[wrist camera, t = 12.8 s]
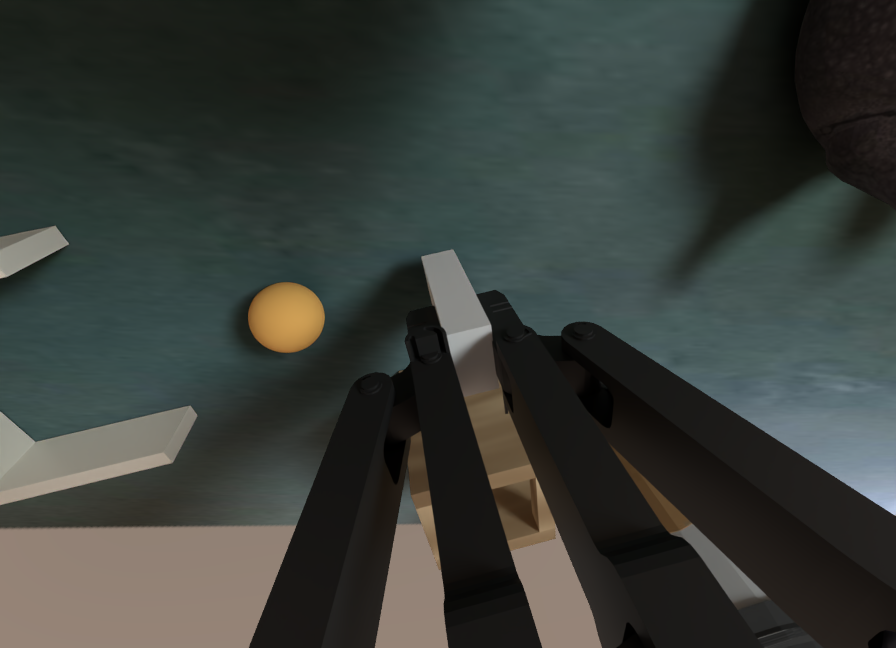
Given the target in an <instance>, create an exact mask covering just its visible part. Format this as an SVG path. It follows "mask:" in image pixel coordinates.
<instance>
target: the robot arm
mask: <svg viewBox="0 0 896 648" xmlns="http://www.w3.org/2000/svg"><path fill="white" fill-rule="evenodd" d="M421 258H422V262H423V267H424V271H425V276H426V280H427V284H428V289H429V293H430V298H431V302H432V306H429V307H425V308H421V309H417V310H413V311H410V312H409V314H408V316H407V318H406V322H407V329H408V335H407V336H406V338H405V344H406V348H407V351H408V355H409V358H410V364H409V365H408V366H407V368H406V369H404V370H403V371H402V372H400V373H399V374H397V375H395V376H393V377H391V378H390V377H389V375H387V374H385V373H378V372H375V373H370V374H367V375H365V376H363V377H361V378H359V379H358V380H357V381H356V382H354V384H353V385H352V387H351V388H350V391H349V394H348V396H347V399H346V401H345V404H344V406H343V409H342V411H341V414H340V416H339V419H338V422H337V424H336V427H335V429H334V432H333V434H332V437H331V439H330V442H329V445H328V447H327V450H326V452H325V455H324V457H323V460H322V462H321V465H320V467H319V470H318V473H317V475H316V478H315V480H314V483H313V485H312V488H311V490H310V493H309V496H308V498H307V501H306V503H305V506H304V508H303V511H302V513H301V516H300V518H299V521H298V524H297V526H296V529H295V531H294V534H293V536H292V539H291V542H290V544H289V546H288V549H287V552H286V554H285V557H284V560H283V562H282V564H281V567H280V570H279V572H278V575H277V577H276V580H275V582H274V585H273V587H272V590H271V592H270V595H269V598H268V600H267V603H266V605H265V608H264V610H263V613H262V616H261V618H260V620H259V623H258V625H257V628H256V631H255V633H254V636H253V638H252V641H251V643H250V647H249V648H375V643H376V636H377V631H378V626H379V620H380V614H381V609H382V602H383V597H384V591H385V586H386V581H387V575H388V569H389V564H390V558H391V552H392V547H393V541H394V535H395V529H396V524H397V518H398V513H399V507H400V502H401V496H402V490H403V485H404V479H405V473H406V468H407V462H408V456H409V451H410V445H411V436H413V435H415V434H417V433H419V432H420V431H421V436H422V443H423V449H424V456H425V463H426V470H427V477H428V483H429V490H430V497H431V504H432V511H433V517H434V524H435V531H436V538H437V545H438V551H439V558H440V565H441V572H442V579H443V585H444V594H445V599H444V616H445V625H446V633H447V640H448V647H449V648H542V646H541V642H540V639H539V636H538V633H537V629H536V626H535V623H534V620H533V616H532V613H531V610H530V607H529V603H528V600H527V597H526V594H525V591H524V588H523V585H522V583H521V581H520V579H519V577H518V574H517V572H516V568H515V565H514V562H513V559H512V555H511V552H510V548H509V545H508V542H507V538H506V535H505V532H504V528H503V525H502V522H501V518H500V515H499V512H498V509H497V505H496V502H495V499H494V495H493V492H492V489H491V485H490V482H489V479H488V475H487V472H486V469H485V465H484V462H483V459H482V456H481V452H480V449H479V446H478V442H477V439H476V436H475V432H474V429H473V426H472V422H471V419H470V416H469V412H468V409H467V406H466V402H465V399H464V397H466V396H470V395H474V394H478V393H482V392H486V391H490V390H494V389H498V388H499V382H500V384H501V386H502V392H503V400H504V408H505V414H508V411H509V413H510V416H511V418H512V421H513V423H514V425H515V428H516V430H517V433H518V435H519V437H520V440H521V442H522V445H523V447H524V449H525V452H526V454H527V457H528V459H529V461H530V464H531V466H532V469H533V471H534V473H535V476H536V478H537V481H538V483H539V485H540V488H541V490H542V493H543V495H544V497H545V500H546V502H547V504H548V507H549V509H550V512H551V514H552V516H553V519H554V521H555V524H556V526H557V528H558V531H559V533H560V536H561V538H562V540H563V542H564V545H565V548H566V550H567V552H568V555H569V557H570V560H571V562H572V564H573V567H574V569H575V572H576V574H577V576H578V579H579V581H580V583H581V586H582V588H583V591H584V593H585V596H586V598H587V600H588V603H589V605H590V608H591V610H592V613H593V616H594V619H595V624H596V628H597V632H598V636H599V639H600V642H601V645H602V648H764V647H763V646H762V644H761V643H760V641H759V640H758V638H757V637H756V636H755V634H754V633H753V631H752V630H751V628H750V627H749V625H748V624H747V623H746V621H745V620H744V618H743V617H742V615H741V614H740V613H739V611H738V610H737V608H736V607H735V605H734V604H733V602H732V601H731V600H730V598H729V597H728V595H727V594H726V592H725V591H724V590H723V588H722V587H721V585H720V584H719V582H718V581H717V579H716V578H715V577H714V575H713V574H712V572H711V571H710V569H709V568H708V567H707V565H706V564H705V562H704V561H703V559H702V558H701V557H700V555H699V554H698V553H697V552H696V550H695V549H694V548H693V547H692V545H691V544H690V543H688V542H687V541H686V540H685V539H683V538H682V537H678V536H674V535H672V534H670V533H669V532H668V531H667V530H666V529H665V527H664V526H663V525H662V523H661V522H660V520H659V519H658V517H657V516H656V514H655V513H654V511H653V510H652V508H651V507H650V505H649V504H648V502H647V501H646V499H645V498H644V496H643V494H642V493H641V491H640V490H639V488H638V487H637V485H636V484H635V482H634V481H633V479H632V478H631V476H630V475H629V473H628V472H627V470H626V469H625V467H624V466H623V464H622V463H621V461H620V460H619V458H618V457H617V455H616V454H615V452H614V451H613V449H612V447H613V448H614V449H615V450H616V451H617V452H619V453H620V454H621V455H622V456H623V457H624V458H625V459H626V460H627V461H628V462H629V463H630V464H631V465H632V466H633V467H634V468H635V469H636V470H637V471H638V472H639V473H640V474H641V475H642V476H643V477H644V478H645V479H647V480H648V481H649V482H650V483H651V484H652V485H653V486H654V487H655V488H656V489H657V490H658V491H659V492H660V493H661V494H662V495H663V496H664V497H665V498H666V499H667V500H668V501H669V502H670V503H671V504H672V505H673V506H675V507H676V508H677V509H678V510H679V511H680V512H681V513H682V514H683V515H684V516H685V517H686V518H687V519H688V520H689V521H690V522H691V523H692V524H693V525H694V526H695V527H696V528H697V529H698V530H699V531H700V532H701V533H703V534H704V535H705V536H706V537H707V538H708V539H709V540H710V541H711V542H712V543H713V544H714V545H715V546H716V547H717V548H718V549H719V550H720V551H721V552H722V553H723V554H724V555H725V556H726V557H727V558H728V559H729V560H731V561H732V562H733V563H734V564H735V565H736V566H737V567H738V568H739V569H740V570H741V571H742V572H743V573H744V574H745V575H746V576H747V577H748V578H749V579H750V580H751V581H752V582H753V583H754V584H755V585H756V586H757V587H759V588H760V589H761V590H762V591H763V592H764V593H765V594H766V595H767V596H768V597H769V598H770V599H771V600H772V601H773V602H774V603H775V604H776V605H777V606H778V607H779V608H780V609H781V610H782V611H783V612H784V613H785V614H787V615H788V616H789V617H790V618H791V619H792V620H793V621H794V622H795V623H796V624H797V625H799V626H800V627H801V628H802V629H803V630H804V631H805V632H806V633H807V634H809V635H810V636H811V637H812V638H813V639H814V640H815V641H816V642H817V643H818V644H820V645H821V646H822V647H823V648H896V516H894V515H893V514H891V513H890V512H888V511H887V510H885V509H884V508H882V507H880V506H879V505H877V504H876V503H874V502H873V501H871V500H870V499H868V498H866V497H865V496H863V495H862V494H860V493H859V492H857V491H856V490H854V489H852V488H851V487H849V486H848V485H846V484H845V483H843V482H842V481H840V480H839V479H837V478H835V477H834V476H832V475H831V474H829V473H828V472H826V471H825V470H823V469H821V468H820V467H818V466H817V465H815V464H814V463H812V462H811V461H809V460H807V459H806V458H804V457H803V456H801V455H800V454H798V453H797V452H795V451H793V450H792V449H790V448H789V447H787V446H786V445H784V444H783V443H781V442H779V441H778V440H776V439H775V438H773V437H772V436H770V435H769V434H767V433H765V432H764V431H762V430H761V429H759V428H758V427H756V426H755V425H753V424H751V423H750V422H748V421H747V420H745V419H744V418H742V417H741V416H739V415H738V414H736V413H734V412H733V411H731V410H730V409H728V408H727V407H725V406H724V405H722V404H720V403H719V402H717V401H716V400H714V399H713V398H711V397H710V396H708V395H706V394H705V393H703V392H702V391H700V390H699V389H697V388H696V387H694V386H692V385H691V384H689V383H688V382H686V381H685V380H683V379H682V378H680V377H678V376H677V375H675V374H674V373H672V372H671V371H669V370H668V369H666V368H664V367H663V366H661V365H660V364H658V363H657V362H655V361H654V360H652V359H650V358H649V357H647V356H646V355H644V354H643V353H641V352H640V351H638V350H636V349H635V348H633V347H632V346H630V345H629V344H627V343H626V342H624V341H623V340H621V339H619V338H618V337H616V336H615V335H613V334H612V333H610V332H609V331H607V330H605V329H604V328H602V327H601V326H599V325H597V324H594V323H590V322H575V323H571V324H569V325H567V326H565V327H564V328H563V330H562V332H561V336H541V335H537V334H536V332H535V331H534V330H533V329H532V328H530V327H528V326H525V325H523V324H522V322H521V320H520V319H519V317H518V316H517V314H516V313H515V311H514V309H513V308H512V306H511V305H510V303H509V302H508V300H507V298H506V297H505V295H504V294H502V293H500V292H498V291H496V290H493V291H489V292H485V293H480V294H475V292H474V290H473V288H472V286H471V284H470V282H469V280H468V278H467V276H466V274H465V272H464V270H463V268H462V266H461V264H460V262H459V260H458V258H457V256H456V254H455V252H454V250H453V249H452V250H448V251H443V252H439V253H435V254H430V255H426V256H422V257H421ZM498 379H499V382H498ZM610 445H611V446H612V447H611V446H610Z"/></svg>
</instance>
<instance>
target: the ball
mask: <svg viewBox="0 0 896 648" xmlns="http://www.w3.org/2000/svg"><path fill="white" fill-rule="evenodd" d="M324 321H325V315H324V309H323V306H322V304H321V302H320V300H319V299H318V297H317V296H316V295H315V294H314V293H313V292H312V291H311V290H309V289H308V288H306V287H304V286H302V285H300V284H296V283H291V282H281V283H276V284H273V285H270V286H268V287H266V288H264V289H263V290H262V291H260V292H259V293H258V294H257V295H256V296H255V298H254V299H253V301H252V303H251V305H250V308H249V312H248V322H249V326H250V329H251V332H252V334H253V335H254V337H255V338H256V339H257V340H258V341H259V342H260V343H261V344H262V345H263V346H265V347H267V348H268V349H271V350H273V351H277V352H282V353H291V352H297V351H300V350H303V349H305V348H307V347H308V346H310V345H311V344H312V343H313V342H314V341H315V340H316V339H317V338H318V337H319V335H320V334H321V332H322V329H323V326H324Z"/></svg>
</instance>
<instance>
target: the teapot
mask: <svg viewBox="0 0 896 648" xmlns="http://www.w3.org/2000/svg"><path fill="white" fill-rule="evenodd" d="M795 85H796V91H797V97H798V102H799V106H800V110H801V114H802V117H803V119H804V121H805V122H806V124H807V126H808V127H809V129H810V131H811V132H812V134H813V135H814V137H815V139H816V140H817V141H818V142H819V143H820V144H821V146H822V147H823V148H824V149H825V150H826V165H827V167H828V169H829V171H831V172H832V173H833V174H834V175H835V176H836V177H838V178H839V179H840V180H841V181H843V182H845V183H847V184H850V185H852V186H854V187H856V188H858V189H860V190H862V191H864V192H866V193H867V194H869V195H871V196H873V197H875V198H877V199H879V200H881V201H883V202H885V203H887V204H889V205H890V206H891V207H892V208H894V209H895V210H896V0H810V1H809V4H808V7H807V10H806V13H805V16H804V19H803V22H802V25H801V29H800V34H799V39H798V44H797V49H796V56H795Z"/></svg>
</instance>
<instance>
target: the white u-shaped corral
mask: <svg viewBox="0 0 896 648" xmlns="http://www.w3.org/2000/svg"><path fill="white" fill-rule="evenodd" d="M67 245H69V243H68V242H67V241H66V239H65V238H64V237H63V235H62V234H61V233H60V231H59V230H58V229H57V227H56V226H51V227H46V228H41V229H36V230H32V231H27V232H22V233H17V234H12V235H8V236H3V237H0V278H4V277H8V276H10V275H12V274H14V273H15V272H17V271H19V270H21V269H23V268H25V267H27V266H29V265H31V264H33V263H34V262H36V261H38V260H40V259H42V258H44V257H46V256H48V255H50V254H52V253H54V252H55V251H57V250H59V249H61V248H63V247H65V246H67ZM197 416H198V415H197V414H196V413H195V411H194V410H193V409H192V407H191V406H185V407H181V408H177V409H173V410H168V411H164V412H160V413H156V414H151V415H147V416H143V417H139V418H135V419H130V420H126V421H122V422H118V423H113V424H109V425H105V426H101V427H97V428H92V429H88V430H84V431H80V432H75V433H71V434H67V435H63V436H59V437H54V438H50V439H46V440H42V441H37V442H35V441H34V440H33V439H31V438H30V437H29V436H28V435H27V434H26V433H25V432H23V431H22V430H21V429H20V428H19V427H18V426H17V425H15V424H14V423H13V422H12V421H11V420H10V419H9V418H7V417H6V416H5V415H4V414H3V413H2V412H0V505H2V504H6V503H10V502H14V501H19V500H23V499H27V498H31V497H35V496H39V495H43V494H47V493H51V492H55V491H59V490H64V489H68V488H72V487H76V486H80V485H84V484H88V483H92V482H96V481H100V480H105V479H109V478H113V477H117V476H121V475H125V474H129V473H133V472H137V471H141V470H146V469H150V468H154V467H158V466H162V465H166V464H170V463H173V461H174V460H175V458H176V456H177V454H178V452H179V450H180V448H181V446H182V444H183V443H184V441H185V439H186V437H187V435H188V433H189V431H190V429H191V427H192V425H193V424H194V422H195V420H196V418H197Z"/></svg>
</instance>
